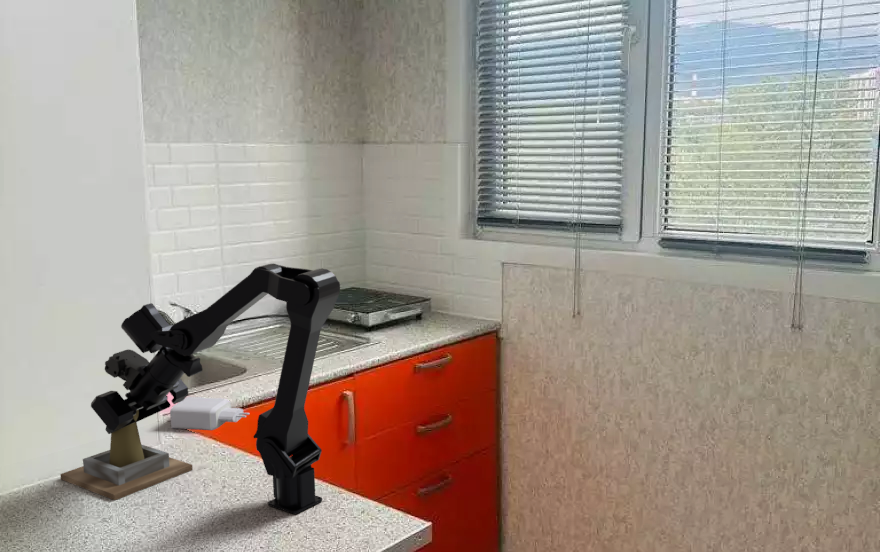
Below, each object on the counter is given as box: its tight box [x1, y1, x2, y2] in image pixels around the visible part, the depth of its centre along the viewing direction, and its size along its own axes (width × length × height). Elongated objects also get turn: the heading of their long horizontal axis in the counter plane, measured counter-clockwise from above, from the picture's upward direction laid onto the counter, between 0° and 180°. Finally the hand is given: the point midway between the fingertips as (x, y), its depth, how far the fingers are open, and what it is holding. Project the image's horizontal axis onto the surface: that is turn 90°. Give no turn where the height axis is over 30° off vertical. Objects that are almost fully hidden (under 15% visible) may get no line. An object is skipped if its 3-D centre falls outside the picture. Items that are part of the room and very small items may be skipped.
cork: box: [109, 410, 144, 468], centre depth 155 cm, size 6×6×11 cm
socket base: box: [60, 443, 193, 501], centre depth 157 cm, size 16×16×4 cm
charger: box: [169, 396, 250, 431], centre depth 184 cm, size 5×9×15 cm
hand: (118, 427), depth 156 cm, fingers closed on cork, 5 cm apart
